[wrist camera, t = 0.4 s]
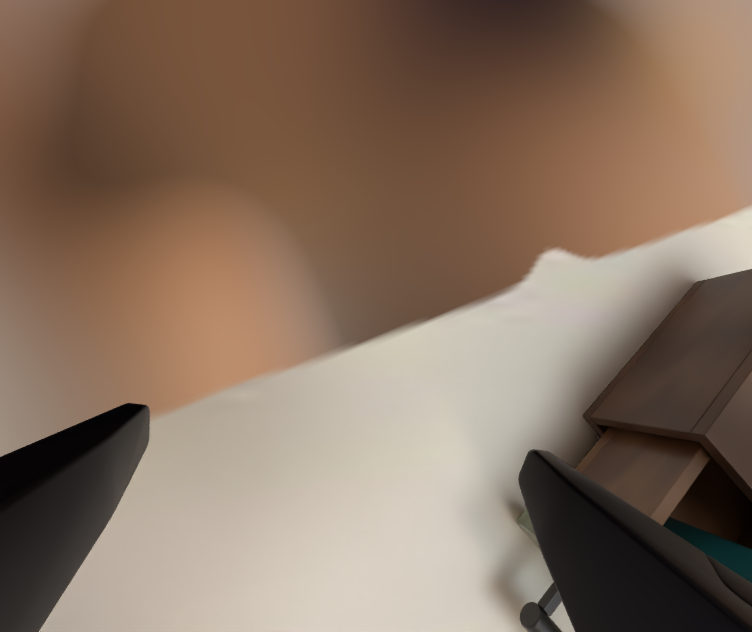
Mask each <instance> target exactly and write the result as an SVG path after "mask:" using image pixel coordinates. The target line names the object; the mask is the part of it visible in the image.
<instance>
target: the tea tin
mask: <svg viewBox="0 0 752 632" xmlns="http://www.w3.org/2000/svg"><path fill="white" fill-rule="evenodd" d="M663 526H664V527H665V528H667V529H669V530H670V531H672V532H673V533H675V534H676V535H678V536H679V537H681V538H682V539H684V540H686V541H687V542H689V543H690V544H692V545H693V546H695V547H696V548H698V549H699V550H701V551H702V552H704V553H705V555H706V556H707V555H708V556H710V557H712V558H713V559H715V560H717V561H718V562H720V563H721V564H723V565H724V566H726V567H727V568H729V569H730V570H732V571H734V572H735V573H737V574H738V575H740V576H741V577H743V578H745V579H746V580H748V581H749V582H751V583H752V549H750V548H747V547H745V546H742V545H740V544H737V543H735V542H732V541H730V540H727V539H724V538H722V537H719V536H717V535H714V534H712V533H709V532H707V531H704V530H702V529H699V528H697V527H694V526H692V525H689V524H687V523H684V522H681V521H679V520H676V519H674V518H671V517H668V519H667V520H666V522H665V523H664V524H663Z"/></svg>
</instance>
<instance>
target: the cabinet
mask: <svg viewBox="0 0 752 632" xmlns="http://www.w3.org/2000/svg"><path fill="white" fill-rule="evenodd" d="M583 417H584V418H585V419H586V420H587V421H588V422H589V424H590V425H591V426H592V427H593V428H594V429H595V430H596V432H597V433H598V434H599V435H600V436H602V435H603V434H604V433H605V432H606V430H607V429H608V428H609V427H610V426H611V427H616V428H622V429H628V430H633V431H639V432H645V433H650V434H656V435H662V436H667V437H673V438H679V439H685V440H690V441H696V442H700V443H701V445H702V446H703V447H704V448H705V449H706V450H707V451H708V453H709V454H710V455H711V456H712V457H713V458H714V460H715V461H716V462H717V463H718V464H719V465H720V466H721V468H722V469H723V470H724V471H725V472H726V473H727V474H728V476H729V477H730V478H731V479H732V480H733V481H734V483H735V484H736V485H737V486H738V487H739V488H740V489H741V491H742V492H743V493H744V494H745V495H746V496H747V497H748V499H749V500H750V501H751V502H752V269H750V270H745V271H741V272H737V273H733V274H728V275H724V276H720V277H715V278H711V279H707V280H702V281H698V282H696V283H695V285H694V286H693V287H692V288H691V289H690V290H689V292H688V293H687V294H686V295H685V296H684V297H683V299H682V300H681V301H680V302H679V303H678V305H677V306H676V307H675V308H674V309H673V310H672V312H671V313H670V314H669V315H668V316H667V317H666V319H665V320H664V321H663V322H662V323H661V324H660V326H659V327H658V328H657V329H656V330H655V332H654V333H653V334H652V335H651V336H650V337H649V339H648V340H647V341H646V342H645V343H644V344H643V346H642V347H641V348H640V349H639V350H638V352H637V353H636V354H635V355H634V356H633V357H632V359H631V360H630V361H629V362H628V363H627V364H626V366H625V367H624V368H623V369H622V370H621V371H620V373H619V374H618V375H617V376H616V377H615V379H614V380H613V381H612V382H611V383H610V384H609V386H608V387H607V388H606V389H605V390H604V391H603V393H602V394H601V395H600V396H599V397H598V398H597V400H596V401H595V402H594V403H593V404H592V406H591V407H590V408H589V409H588V410H587V411H586V413H585V414H584V415H583Z"/></svg>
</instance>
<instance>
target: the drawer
mask: <svg viewBox="0 0 752 632" xmlns="http://www.w3.org/2000/svg"><path fill="white" fill-rule="evenodd" d="M575 469H576V470H577V471H579V472H581V473H582V474H584V475H585V476H587V477H588V478H590V479H591V480H593V481H594V482H596V483H598V484H599V485H601V486H602V487H604V488H605V489H607V490H608V491H610V492H611V493H613V494H615V495H616V496H618V497H619V498H621V499H622V500H624V501H625V502H627V503H628V504H630V505H631V506H633V507H635V508H636V509H638V510H639V511H641V512H642V513H644V514H645V515H647V516H648V517H650V518H652V519H653V520H655V521H656V522H658V523H659V524H661V525H662V526H663V524H664V523H665V522H666V520H667V519H668V517H671V518H674V519H676V520H679V521H681V522H684V523H687V524H689V525H692V526H694V527H697V528H699V529H702V530H704V531H707V532H709V533H712V534H714V535H717V536H719V537H722V538H724V539H727V540H730V541H732V542H735V543H737V544H740V545H742V546H745V547H747V548H750V549H752V502H751V501H750V500H749V499H748V497H747V496H746V495H745V494H744V493H743V492H742V491H741V489H740V488H739V487H738V486H737V485H736V484H735V483H734V481H733V480H732V479H731V478H730V477H729V476H728V474H727V473H726V472H725V471H724V470H723V469H722V468H721V466H720V465H719V464H718V463H717V462H716V461H715V460H714V458H713V457H712V456H711V455H710V454H709V453H708V451H707V450H706V449H705V448H704V447H703V446H702V445H701V443H700V442H696V441H690V440H685V439H679V438H673V437H667V436H662V435H656V434H650V433H645V432H639V431H633V430H628V429H622V428H616V427H611V426H610V427H609V428H608V429H607V430H606V432H605V433H604V434H603V435H602V436H601V438H600V439H599V440H598V441H597V443H596V444H595V445H594V446H593V447H592V449H591V450H590V451H589V452H588V454H587V455H586V456H585V457H584V458H583V460H582V461H581V462H580V463H579V465H578V466H577V467H576V468H575ZM517 523H518V524H519V525H520V526H521V527H522V528H523V530H524V531H525V532H526V533H527V534H528V535H529V536H530V538H531V539H532V540H533V541H534V542H535V543H536V544H537V546H538V547H539V544H538V541H537V539H536V536H535V533H534V530H533V527H532V523H531V520H530V517H529V514H528V511H527V509H526V510H525V512H524V513H523V514H522V515H521V516H520V518H519V519H518V520H517ZM539 548H540V547H539ZM561 601H562V599H561V597H560V595H559V592H558V590H557V588H556V585H555V583H554V582H553V584H552V585H551V586H550V588H549V589H548V590H547V592H546V593H545V594H544V595H543V597H542V598H541V599H540V601H539V602H538V604H537V603H534V602H530V603H527V604H526V605H525V606H524V607H523V608H522V610H521V613H520V621H521V624H522V625H523V626H524V628H525V629H526V630H527V631H528V632H562V631H561V630H560V629H559V628H558V626H557V625H556V624H555V623H554V622H553V621H552V620H551V618H550V617H549V616H551V615H552V613H553V612H554V611H555V609H556V608H557V607H558V605H559V604H560V603H561Z"/></svg>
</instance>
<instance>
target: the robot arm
mask: <svg viewBox="0 0 752 632" xmlns="http://www.w3.org/2000/svg"><path fill="white" fill-rule="evenodd" d="M149 424H150V411H149V407H148V406H146V405H142V404H133V403H127V404H124V405H121V406H119V407H117V408H114V409H112V410H110V411H107V412H105V413H102V414H100V415H98V416H95V417H94V418H91V419H88V420H86V421H84V422H81V423H79V424H77V425H74V426H72V427H70V428H67V429H65V430H63V431H60V432H58V433H56V434H53V435H51V436H48V437H46V438H44V439H41V440H39V441H37V442H34V443H32V444H30V445H27V446H25V447H23V448H20V449H18V450H16V451H13V452H11V453H8V454H6V455H4V456H2V457H0V632H39V630H40V629H41V627H42V625H43V624H44V622H45V621H46V619H47V618H48V616H49V614H50V613H51V611H52V610H53V608H54V607H55V605H56V604H57V602H58V600H59V599H60V597H61V596H62V594H63V593H64V591H65V589H66V588H67V586H68V585H69V583H70V582H71V580H72V578H73V577H74V575H75V574H76V572H77V571H78V569H79V568H80V566H81V564H82V563H83V561H84V560H85V558H86V557H87V555H88V553H89V552H90V550H91V549H92V547H93V546H94V544H95V543H96V541H97V539H98V538H99V536H100V535H101V533H102V532H103V530H104V528H105V527H106V525H107V523H108V522H109V520H110V519H111V517H112V515H113V513H114V511H115V510H116V508H117V506H118V504H119V502H120V500H121V498H122V496H123V494H124V492H125V490H126V488H127V486H128V484H129V482H130V480H131V478H132V476H133V474H134V472H135V470H136V468H137V466H138V464H139V462H140V460H141V458H142V456H143V454H144V452H145V450H146V448H147V445H148V442H149ZM519 486H520V489H521V492H522V496H523V499H524V502H525V505H526V508H527V511H528V514H529V517H530V520H531V523H532V527H533V530H534V533H535V536H536V539H537V541H538V544H539V547H540V550H541V552H542V555H543V557H544V559H545V562H546V564H547V566H548V569H549V571H550V573H551V576H552V578H553V581H554V583H555V585H556V588H557V590H558V592H559V595H560V597H561V599H562V602H563V604H564V606H565V609H566V611H567V614H568V616H569V618H570V621H571V623H572V625H573V628H574V630H575V632H752V583H751V582H749V581H748V580H746V579H745V578H743V577H741V576H740V575H738V574H737V573H735V572H734V571H732V570H730V569H729V568H727V567H726V566H724V565H723V564H721V563H720V562H718V561H717V560H715V559H713V558H712V557H710V556H708V555H707V556H706V555H705V553H704V552H702V551H701V550H699V549H698V548H696V547H695V546H693V545H692V544H690V543H689V542H687V541H686V540H684V539H682V538H681V537H679V536H678V535H676V534H675V533H673V532H672V531H670V530H669V529H667V528H665V527H664V526H662V525H661V524H659V523H658V522H656V521H655V520H653V519H652V518H650V517H648V516H647V515H645V514H644V513H642V512H641V511H639V510H638V509H636V508H635V507H633V506H631V505H630V504H628V503H627V502H625V501H624V500H622V499H621V498H619V497H618V496H616V495H615V494H613V493H611V492H610V491H608V490H607V489H605V488H604V487H602V486H601V485H599V484H598V483H596V482H594V481H593V480H591V479H590V478H588V477H587V476H585V475H584V474H582V473H581V472H579V471H577V470H576V469H574V468H573V467H571V466H570V465H568V464H567V463H565V462H564V461H562V460H560V459H559V458H557V457H556V456H554V455H553V454H551V453H550V452H548V451H544V450H535V449H533V450H530V451H529V452H528V454H527V456H526V459H525V461H524V464H523V466H522V469H521V471H520V473H519Z"/></svg>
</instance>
